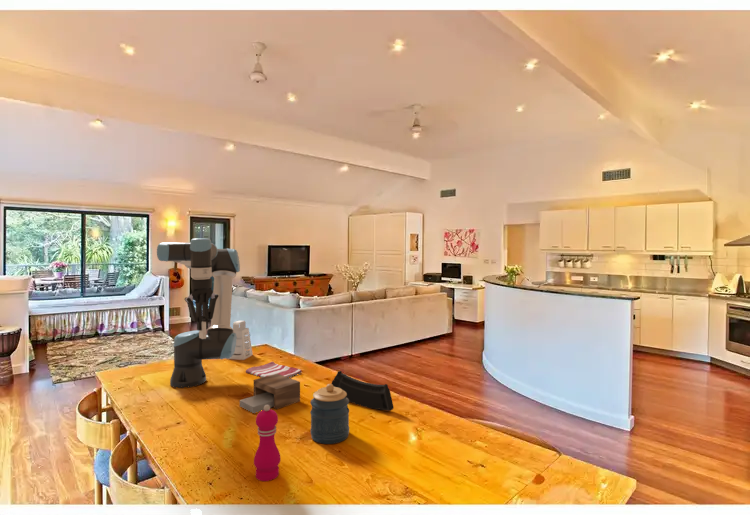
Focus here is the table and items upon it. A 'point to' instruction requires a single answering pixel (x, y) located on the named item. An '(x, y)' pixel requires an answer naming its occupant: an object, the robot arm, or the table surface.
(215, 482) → the table surface
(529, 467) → the table surface
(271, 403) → the tile
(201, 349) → the robot arm
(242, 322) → the grater
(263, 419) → the pepper mill
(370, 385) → the magazine
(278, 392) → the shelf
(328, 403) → the canister
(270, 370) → the dish towel
